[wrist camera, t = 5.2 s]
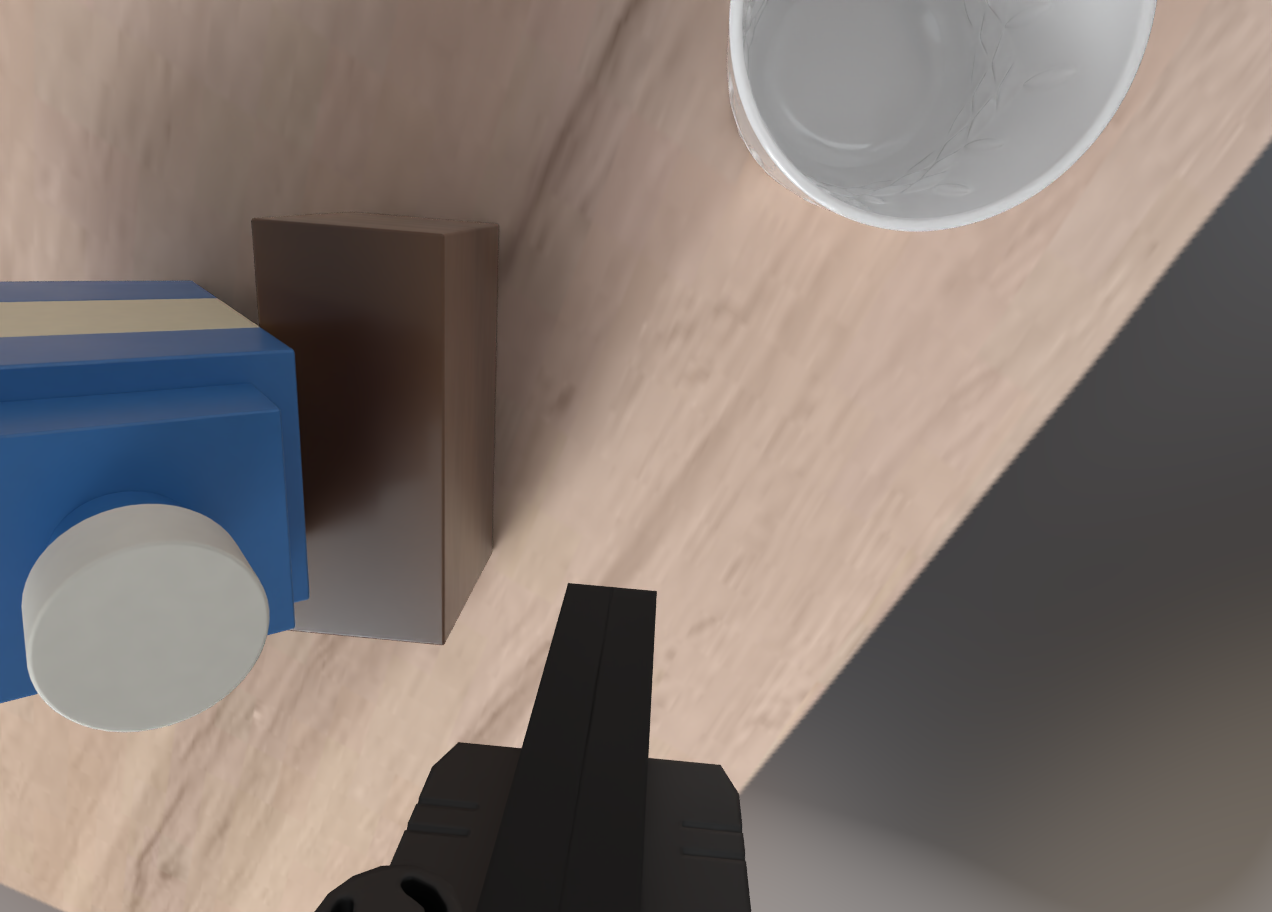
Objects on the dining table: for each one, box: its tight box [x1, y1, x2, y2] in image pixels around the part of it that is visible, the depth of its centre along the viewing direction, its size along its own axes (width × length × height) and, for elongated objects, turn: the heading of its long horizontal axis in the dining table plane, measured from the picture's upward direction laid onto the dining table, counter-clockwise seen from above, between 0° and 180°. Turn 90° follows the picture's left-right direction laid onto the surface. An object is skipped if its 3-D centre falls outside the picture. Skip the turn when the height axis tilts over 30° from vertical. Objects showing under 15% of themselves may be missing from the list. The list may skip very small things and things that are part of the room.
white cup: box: [727, 0, 1157, 231], centre depth 20 cm, size 8×8×10 cm
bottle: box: [0, 281, 310, 732], centre depth 20 cm, size 16×7×17 cm, turn 86°
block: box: [251, 212, 499, 645], centre depth 25 cm, size 5×12×6 cm, turn 176°
